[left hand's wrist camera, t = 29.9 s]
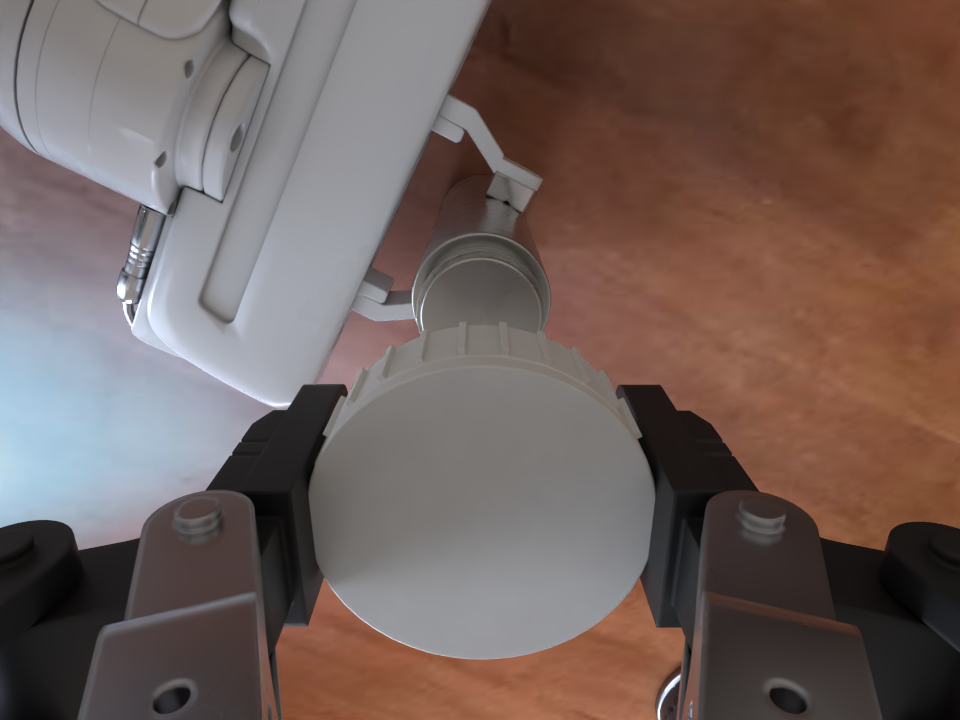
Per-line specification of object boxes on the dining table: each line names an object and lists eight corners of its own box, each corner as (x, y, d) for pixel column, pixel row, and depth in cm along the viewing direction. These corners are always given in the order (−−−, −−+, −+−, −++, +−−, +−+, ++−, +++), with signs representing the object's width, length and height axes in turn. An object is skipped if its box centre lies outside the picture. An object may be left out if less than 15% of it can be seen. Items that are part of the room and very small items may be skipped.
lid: (329, 581, 12) (306, 656, 10) (321, 308, 10) (291, 348, 8) (612, 596, 12) (633, 671, 10) (661, 329, 10) (695, 372, 8)
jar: (442, 171, 32) (408, 237, 17) (526, 177, 32) (565, 249, 17) (438, 254, 33) (403, 381, 19) (518, 259, 34) (547, 390, 19)
